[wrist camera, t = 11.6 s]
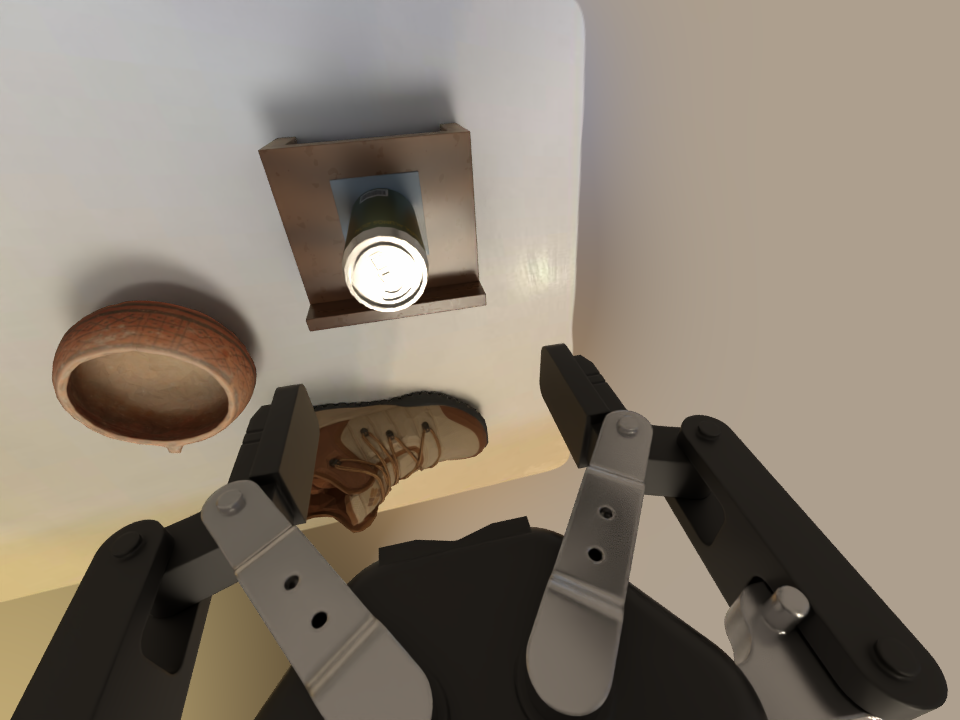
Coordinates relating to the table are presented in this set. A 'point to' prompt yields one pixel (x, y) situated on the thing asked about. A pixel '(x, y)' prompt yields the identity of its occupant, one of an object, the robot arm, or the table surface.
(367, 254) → the beer can
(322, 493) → the shoe
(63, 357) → the bowl
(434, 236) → the wooden stand with backboard
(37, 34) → the table surface
